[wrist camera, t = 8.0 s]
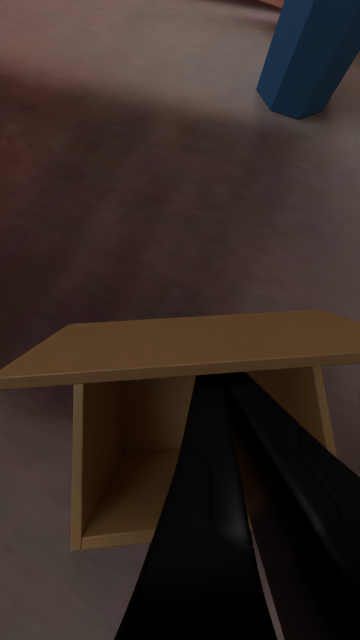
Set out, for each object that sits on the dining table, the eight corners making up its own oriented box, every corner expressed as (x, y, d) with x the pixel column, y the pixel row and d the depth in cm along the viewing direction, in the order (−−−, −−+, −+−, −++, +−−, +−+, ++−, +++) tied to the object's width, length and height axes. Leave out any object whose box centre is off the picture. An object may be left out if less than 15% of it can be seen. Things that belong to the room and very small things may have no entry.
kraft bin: (117, 341, 19) (74, 328, 11) (251, 332, 20) (311, 314, 12) (119, 457, 18) (69, 552, 9) (266, 443, 18) (349, 520, 10)
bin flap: (70, 331, 10) (68, 323, 10) (318, 316, 11) (320, 309, 11) (-10, 391, 6) (-14, 378, 5) (432, 358, 6) (436, 346, 6)
